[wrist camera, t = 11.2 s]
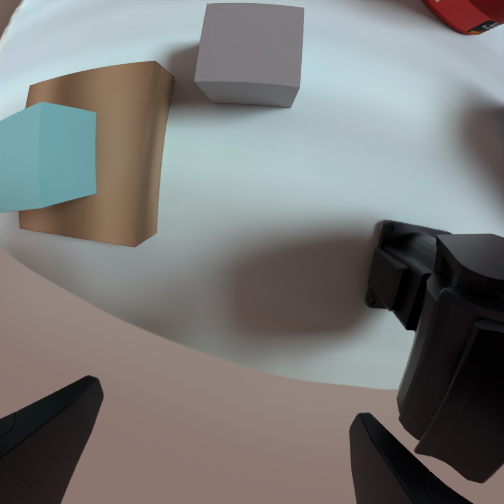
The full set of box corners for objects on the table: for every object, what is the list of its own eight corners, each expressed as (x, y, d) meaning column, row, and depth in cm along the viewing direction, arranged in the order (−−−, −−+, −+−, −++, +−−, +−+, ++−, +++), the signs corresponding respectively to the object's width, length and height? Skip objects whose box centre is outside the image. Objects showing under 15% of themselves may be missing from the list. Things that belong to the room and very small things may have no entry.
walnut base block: (176, 79, 16) (155, 60, 12) (158, 231, 19) (135, 247, 15) (60, 92, 16) (29, 85, 12) (50, 217, 19) (19, 228, 15)
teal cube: (96, 112, 13) (41, 101, 8) (96, 193, 14) (40, 208, 10) (42, 128, 13) (-11, 127, 8) (43, 199, 15) (-9, 214, 10)
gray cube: (295, 43, 14) (304, 7, 10) (290, 108, 16) (299, 87, 11) (221, 39, 14) (207, 3, 10) (212, 102, 16) (194, 81, 11)
